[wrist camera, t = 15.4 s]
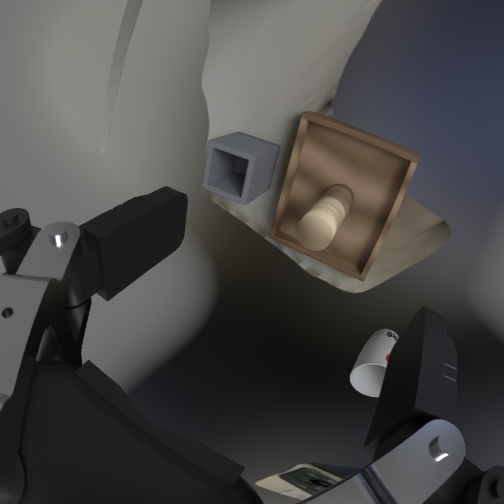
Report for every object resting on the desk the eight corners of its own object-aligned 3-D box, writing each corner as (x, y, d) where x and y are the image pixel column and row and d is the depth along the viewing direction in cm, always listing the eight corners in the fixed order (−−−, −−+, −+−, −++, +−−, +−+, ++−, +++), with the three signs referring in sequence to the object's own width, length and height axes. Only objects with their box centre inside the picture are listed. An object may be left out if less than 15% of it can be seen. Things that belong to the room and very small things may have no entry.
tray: (309, 111, 41) (302, 112, 38) (418, 154, 36) (419, 158, 34) (276, 230, 52) (268, 237, 50) (366, 271, 48) (363, 281, 46)
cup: (410, 353, 50) (403, 395, 43) (369, 358, 55) (357, 398, 48) (401, 318, 48) (394, 360, 41) (358, 325, 53) (343, 365, 46)
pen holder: (238, 131, 47) (209, 140, 41) (280, 145, 45) (255, 156, 39) (230, 173, 51) (202, 187, 45) (269, 188, 49) (245, 205, 43)
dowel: (331, 179, 43) (301, 210, 33) (358, 190, 42) (336, 225, 32) (323, 203, 45) (291, 241, 35) (348, 214, 44) (324, 256, 34)
